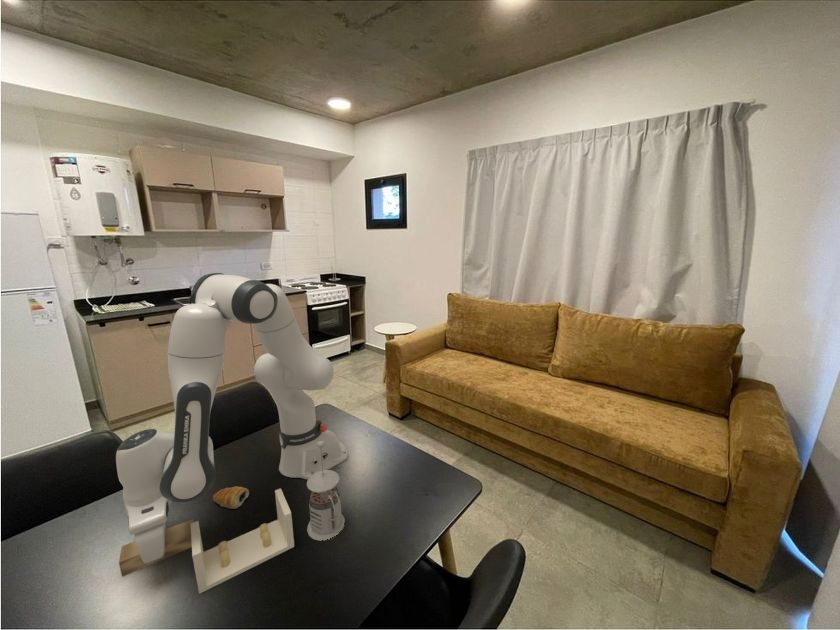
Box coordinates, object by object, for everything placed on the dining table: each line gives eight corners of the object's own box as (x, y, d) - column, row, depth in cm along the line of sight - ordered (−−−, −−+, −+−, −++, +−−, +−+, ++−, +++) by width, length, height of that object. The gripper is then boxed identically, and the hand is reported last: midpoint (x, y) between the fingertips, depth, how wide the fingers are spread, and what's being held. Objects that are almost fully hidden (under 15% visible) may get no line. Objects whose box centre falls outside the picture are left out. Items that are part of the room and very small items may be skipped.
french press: (333, 504, 98) (328, 426, 92) (356, 529, 90) (352, 444, 84) (300, 524, 91) (293, 441, 85) (322, 552, 83) (315, 462, 77)
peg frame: (283, 519, 92) (280, 488, 90) (294, 546, 84) (291, 512, 82) (196, 558, 81) (190, 523, 79) (199, 593, 73) (192, 556, 71)
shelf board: (194, 531, 89) (192, 519, 88) (195, 545, 85) (193, 532, 84) (124, 560, 81) (121, 546, 80) (122, 577, 77) (118, 562, 76)
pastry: (207, 507, 97) (205, 495, 96) (224, 490, 103) (222, 479, 102) (237, 511, 95) (235, 499, 95) (252, 494, 102) (251, 482, 101)
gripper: (136, 478, 86) (146, 524, 89) (127, 535, 69) (139, 588, 73) (167, 468, 89) (175, 513, 92) (165, 520, 73) (175, 572, 76)
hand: (159, 546), depth 82 cm, fingers closed on shelf board, 5 cm apart
